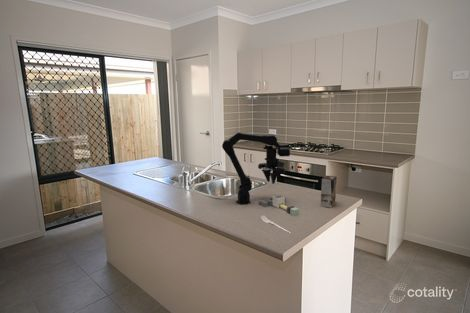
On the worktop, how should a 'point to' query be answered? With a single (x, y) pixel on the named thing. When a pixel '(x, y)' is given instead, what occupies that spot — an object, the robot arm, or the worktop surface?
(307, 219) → the worktop surface
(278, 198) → the grey block
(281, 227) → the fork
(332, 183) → the coffee box
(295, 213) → the cord rig
